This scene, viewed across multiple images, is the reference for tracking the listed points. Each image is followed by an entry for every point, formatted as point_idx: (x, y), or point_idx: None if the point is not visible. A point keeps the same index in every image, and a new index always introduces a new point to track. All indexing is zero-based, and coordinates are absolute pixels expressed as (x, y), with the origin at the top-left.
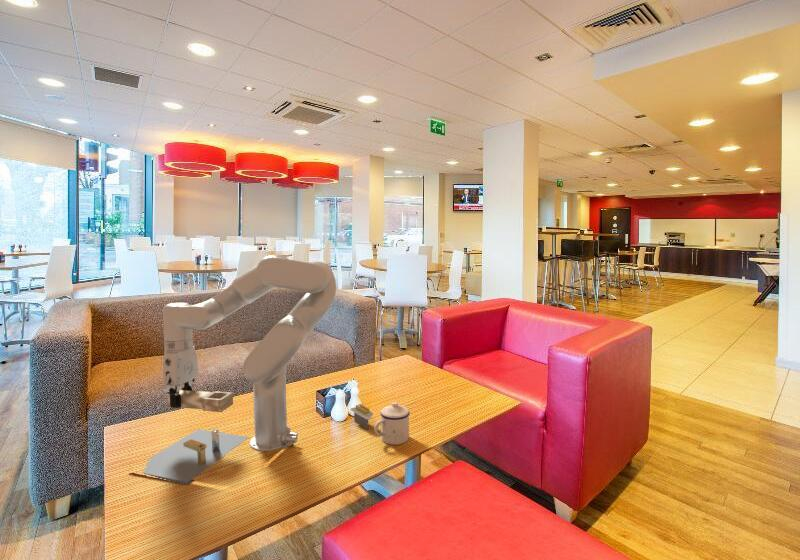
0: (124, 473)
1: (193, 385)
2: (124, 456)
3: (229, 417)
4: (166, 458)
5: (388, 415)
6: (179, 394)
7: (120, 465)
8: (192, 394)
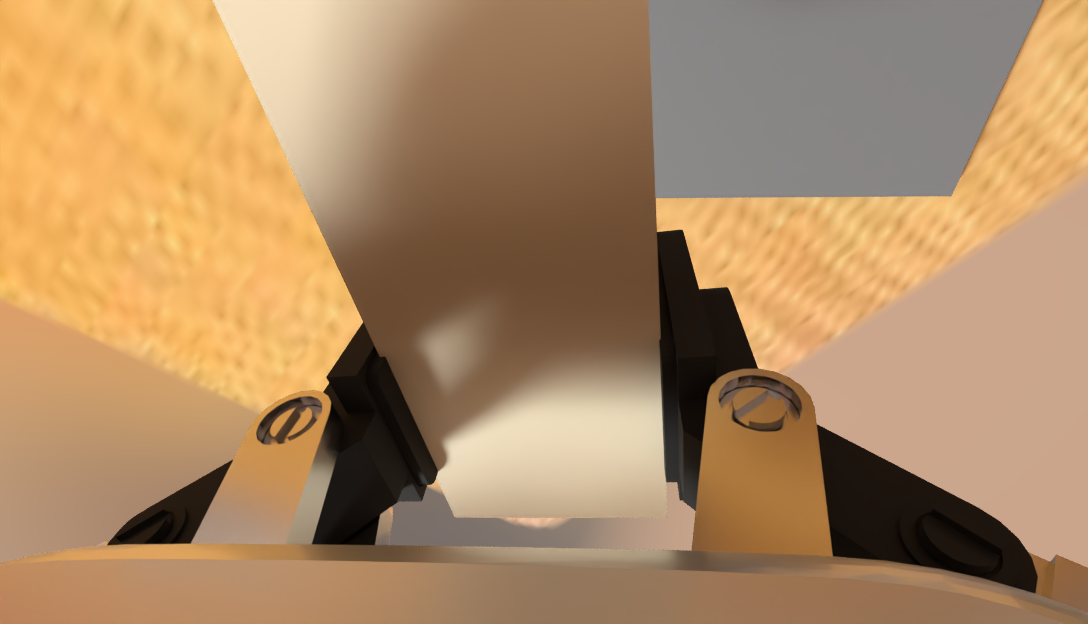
0: (939, 211)
1: (261, 414)
2: (750, 342)
3: (156, 144)
4: (793, 79)
5: None
6: (692, 370)
7: (843, 295)
8: (512, 178)
